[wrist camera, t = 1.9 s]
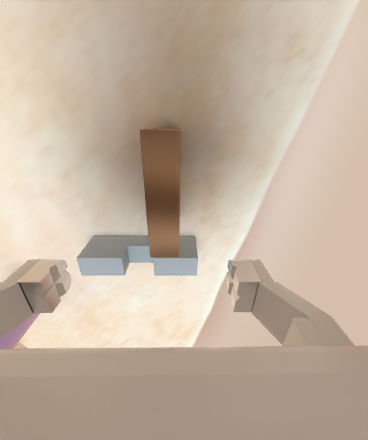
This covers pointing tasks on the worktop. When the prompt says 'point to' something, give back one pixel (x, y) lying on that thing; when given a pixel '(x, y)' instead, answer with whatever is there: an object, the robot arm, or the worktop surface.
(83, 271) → the notched grey block
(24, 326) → the beverage can
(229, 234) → the worktop surface
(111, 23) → the worktop surface
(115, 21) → the worktop surface
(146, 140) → the wooden bridge block
